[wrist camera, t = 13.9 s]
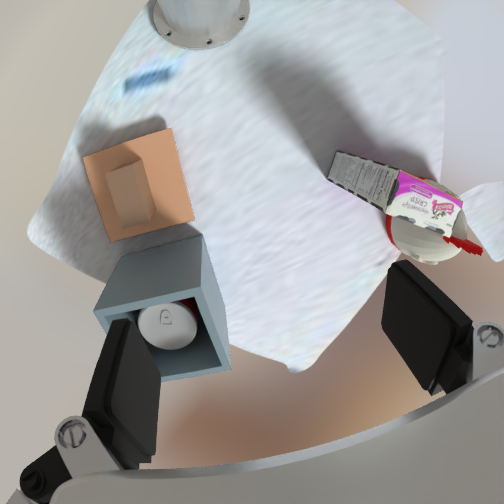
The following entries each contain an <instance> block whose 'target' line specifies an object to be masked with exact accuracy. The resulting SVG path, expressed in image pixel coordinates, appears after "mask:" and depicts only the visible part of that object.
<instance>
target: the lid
mask: <svg viewBox="0 0 504 504" xmlns="http://www.w3.org/2000/svg"><path fill="white" fill-rule="evenodd" d="M83 160H84V164H85V168H86V171H87V175H88V178H89V181H90V184H91V188H92V191H93V194H94V197H95V200H96V203H97V206H98V209H99V212H100V215H101V218H102V221H103V223H104V226H105V229H106V232H107V234H108V237H109V240H110V242H114V241H118V240H121V239H125V238H128V237H132V236H136V235H139V234H143V233H147V232H151V231H154V230H158V229H162V228H166V227H170V226H174V225H177V224H181V223H185V222H189V221H193V220H195V217H194V213H193V209H192V206H191V202H190V198H189V194H188V191H187V187H186V183H185V179H184V175H183V171H182V167H181V163H180V159H179V155H178V151H177V147H176V143H175V139H174V134H173V130H172V128H169V129H165V130H162V131H158V132H155V133H152V134H148V135H145V136H142V137H139V138H136V139H133V140H130V141H127V142H124V143H121V144H118V145H115V146H112V147H109V148H107V149H104V150H101V151H99V152H96V153H93V154H91V155H88V156H86V157H83Z"/></svg>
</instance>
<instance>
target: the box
mask: <svg viewBox="0 0 504 504" xmlns="http://www.w3.org/2000/svg"><path fill="white" fill-rule="evenodd" d="M190 297H195V300H196V302H197V305H198V319H197V332H196V335H195V337H194V339H193V341H192V342H191V343H190V344H188V345H187V346H185V347H183V348H180V349H174V350H168V349H162V348H159V347H156V346H154V345H152V344H151V343H149V342H148V341H147V340H146V339H145V338H144V337H143V336H142V334H141V332H140V330H139V327H138V318H139V313H140V309H142V308H146V307H151V306H155V305H160V304H164V303H169V302H173V301H177V300H182V299H186V298H190ZM93 312H94V314H95V316H96V317H97V319H98V321H99V323H100V324H101V326H102V327H103V329H104V331H105V333H106V334H107V333H108V331H109V328H110V325H111V322H112V321H113V320H116V319H123V318H128V319H129V320H130V321H134V322H135V324H136V326H137V328H138V330H139V332H140V334H141V336H142V338H143V340H144V342H145V344H146V346H147V348H148V350H149V352H150V354H151V356H152V357H153V359H154V361H155V363H156V365H157V367H158V369H159V371H160V374H161V382H165V381H171V380H178V379H184V378H190V377H196V376H201V375H207V374H212V373H217V372H221V371H226V370H231V369H232V365H231V358H230V348H229V339H228V330H227V321H226V312H225V305H224V302H223V299H222V296H221V293H220V289H219V286H218V283H217V280H216V277H215V274H214V270H213V267H212V264H211V261H210V257H209V254H208V251H207V247H206V244H205V241H204V237H203V235H199V236H195V237H191V238H187V239H184V240H180V241H176V242H172V243H169V244H165V245H161V246H157V247H154V248H150V249H146V250H143V251H139V252H135V253H132V254H128V255H125V256H122V257H121V258H120V260H119V262H118V264H117V266H116V267H115V269H114V271H113V273H112V275H111V277H110V279H109V280H108V282H107V284H106V286H105V288H104V290H103V292H102V294H101V296H100V298H99V300H98V302H97V304H96V306H95V308H94V310H93Z"/></svg>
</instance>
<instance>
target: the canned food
mask: <svg viewBox="0 0 504 504" xmlns="http://www.w3.org/2000/svg"><path fill="white" fill-rule="evenodd" d="M197 319H198V305H197V302H196V300H195V297H190V298H186V299H182V300H177V301H173V302H169V303H164V304H160V305H155V306H151V307H146V308H142V309H140V313H139V318H138V327H139V330H140V332H141V334H142V336H143V337H144V338H145V339H146V340H147V341H148V342H149V343H151V344H152V345H154V346H156V347H159V348H162V349H168V350H174V349H180V348H183V347H185V346H187V345H188V344H190V343H191V342H192V341H193V339H194V337H195V335H196V332H197Z"/></svg>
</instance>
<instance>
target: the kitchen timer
mask: <svg viewBox="0 0 504 504" xmlns="http://www.w3.org/2000/svg"><path fill="white" fill-rule="evenodd" d="M418 178H420V179H422V180H424V181H426V182H428V183H430V184H432V185H434V186H436V187H438V188H439V189H441V190H443V191H445V192H447V193H449V194H451V195H452V196H454V197H456V198H458V199H460V198H459V197H458V196H457V195H455V194H454V193H453V192H451V191H450V190H449V189H447V188H446V187H445V186H443V185H440V184H439V183H437V182H436V181H434V180H431V179H429V178H423V177H418ZM460 200H461V199H460ZM386 228H387V234H388V236H389V238H390V241H391V243H392V244H394V245H395V246H396V247H397V248H398V249H399V250H400V251H401V252H403V253H404V254H407V255H410V256H412V258H413V259H416V260H418V261H420V262H424V263H427V264H431V265H437V263H438V261H442V260H446V259H449V258H451V257H453V256H455V255H456V254H457V253H459V252H460V250H461V249H464V250H465V251H467V252H468V253H473V254H476V253H477V254H478V255H480V256H481V254H482V252H483V250H482V248H481V247H480V246H478V245H476V244H474V243H472V242H471V241H469V240H467V222H466V218H465V214H464V212H463V210H462V208H461V212H460V213H459V214H458V218H457V221H456V223H455V226H454V229H453V231H452V234H451V236H450V237H446V236H444V235H441V234H438V233H436V232H433V231H431V230H428V229H426V228H423V227H420V226H418V225H415V224H412V223H410V222H407V221H404V220H402V219H399V218H396V217H394V216H391V215H388V214H387V217H386Z"/></svg>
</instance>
